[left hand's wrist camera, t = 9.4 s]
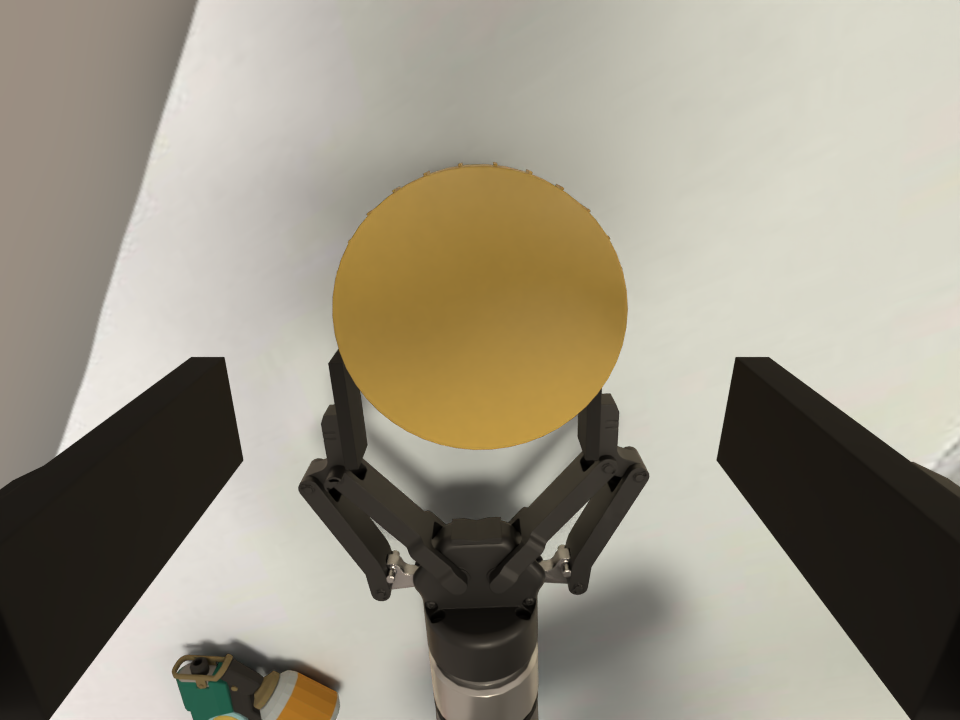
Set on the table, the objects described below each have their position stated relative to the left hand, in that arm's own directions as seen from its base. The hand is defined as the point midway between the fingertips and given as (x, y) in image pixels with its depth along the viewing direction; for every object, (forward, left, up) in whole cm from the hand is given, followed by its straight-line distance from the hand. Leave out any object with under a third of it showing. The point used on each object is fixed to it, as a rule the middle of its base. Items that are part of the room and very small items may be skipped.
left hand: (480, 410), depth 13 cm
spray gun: (+46, +2, -22) cm, 51 cm away
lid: (0, 0, -7) cm, 7 cm away
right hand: (+4, +1, -16) cm, 17 cm away
